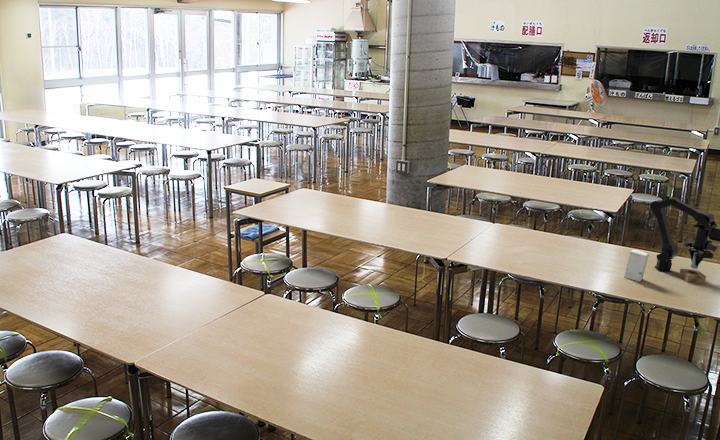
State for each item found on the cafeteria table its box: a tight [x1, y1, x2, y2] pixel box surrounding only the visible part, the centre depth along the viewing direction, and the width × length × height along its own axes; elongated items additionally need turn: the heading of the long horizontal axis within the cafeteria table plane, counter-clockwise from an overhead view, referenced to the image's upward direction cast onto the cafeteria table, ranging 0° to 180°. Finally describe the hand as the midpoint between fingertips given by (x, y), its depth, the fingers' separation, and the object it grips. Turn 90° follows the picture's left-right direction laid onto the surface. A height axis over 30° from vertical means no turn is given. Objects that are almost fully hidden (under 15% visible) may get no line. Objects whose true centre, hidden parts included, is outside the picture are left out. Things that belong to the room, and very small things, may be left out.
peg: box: [690, 252, 699, 270], centre depth 310 cm, size 3×3×8 cm
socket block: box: [678, 268, 707, 284], centre depth 313 cm, size 9×9×4 cm
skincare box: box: [623, 249, 650, 282], centre depth 308 cm, size 8×6×15 cm
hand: (694, 264), depth 311 cm, fingers closed on peg, 3 cm apart
